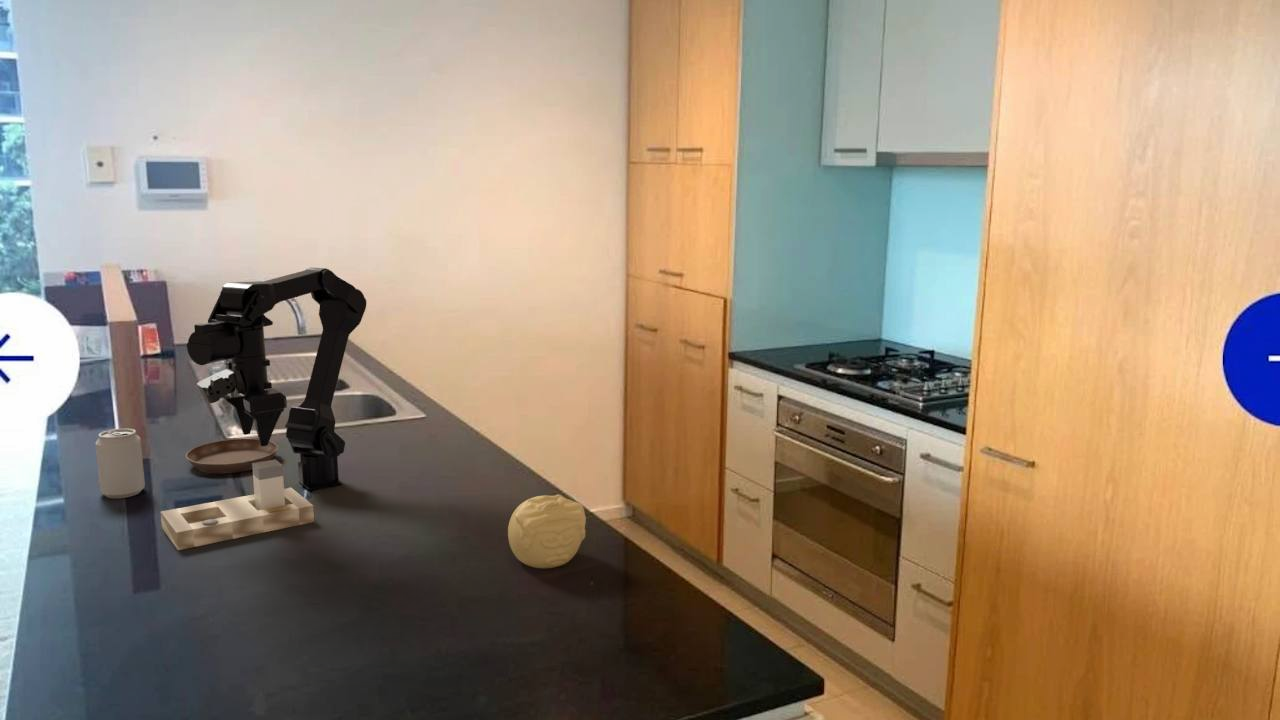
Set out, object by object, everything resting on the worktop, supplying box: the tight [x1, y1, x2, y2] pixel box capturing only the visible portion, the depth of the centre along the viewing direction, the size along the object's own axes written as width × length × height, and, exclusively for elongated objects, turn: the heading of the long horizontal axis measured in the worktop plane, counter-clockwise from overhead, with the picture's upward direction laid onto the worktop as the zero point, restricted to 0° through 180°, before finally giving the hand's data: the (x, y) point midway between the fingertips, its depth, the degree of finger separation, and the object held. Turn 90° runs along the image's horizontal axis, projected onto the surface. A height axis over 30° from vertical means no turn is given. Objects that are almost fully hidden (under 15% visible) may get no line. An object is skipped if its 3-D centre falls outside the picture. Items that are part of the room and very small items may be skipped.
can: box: [94, 428, 146, 499], centre depth 185 cm, size 8×8×12 cm
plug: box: [252, 459, 285, 510], centre depth 172 cm, size 4×4×10 cm
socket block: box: [160, 487, 315, 551], centre depth 170 cm, size 22×12×3 cm, turn 127°
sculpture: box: [507, 493, 587, 569], centre depth 155 cm, size 11×12×11 cm
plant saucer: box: [185, 438, 279, 474], centre depth 205 cm, size 18×18×3 cm
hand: (255, 440), depth 176 cm, fingers open, 9 cm apart
